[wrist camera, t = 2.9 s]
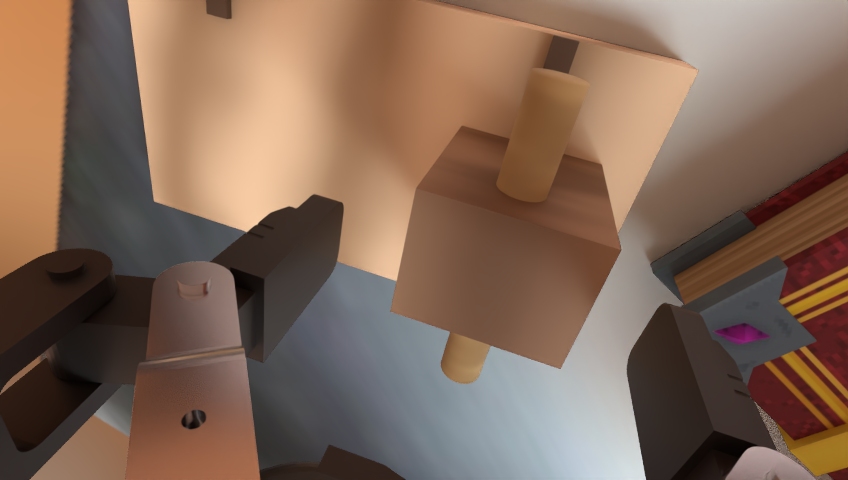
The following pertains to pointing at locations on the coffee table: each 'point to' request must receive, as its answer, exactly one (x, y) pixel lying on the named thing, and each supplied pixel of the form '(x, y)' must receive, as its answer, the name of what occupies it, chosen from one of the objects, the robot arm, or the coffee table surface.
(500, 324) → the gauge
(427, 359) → the coffee table surface
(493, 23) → the board
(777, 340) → the decorative book
